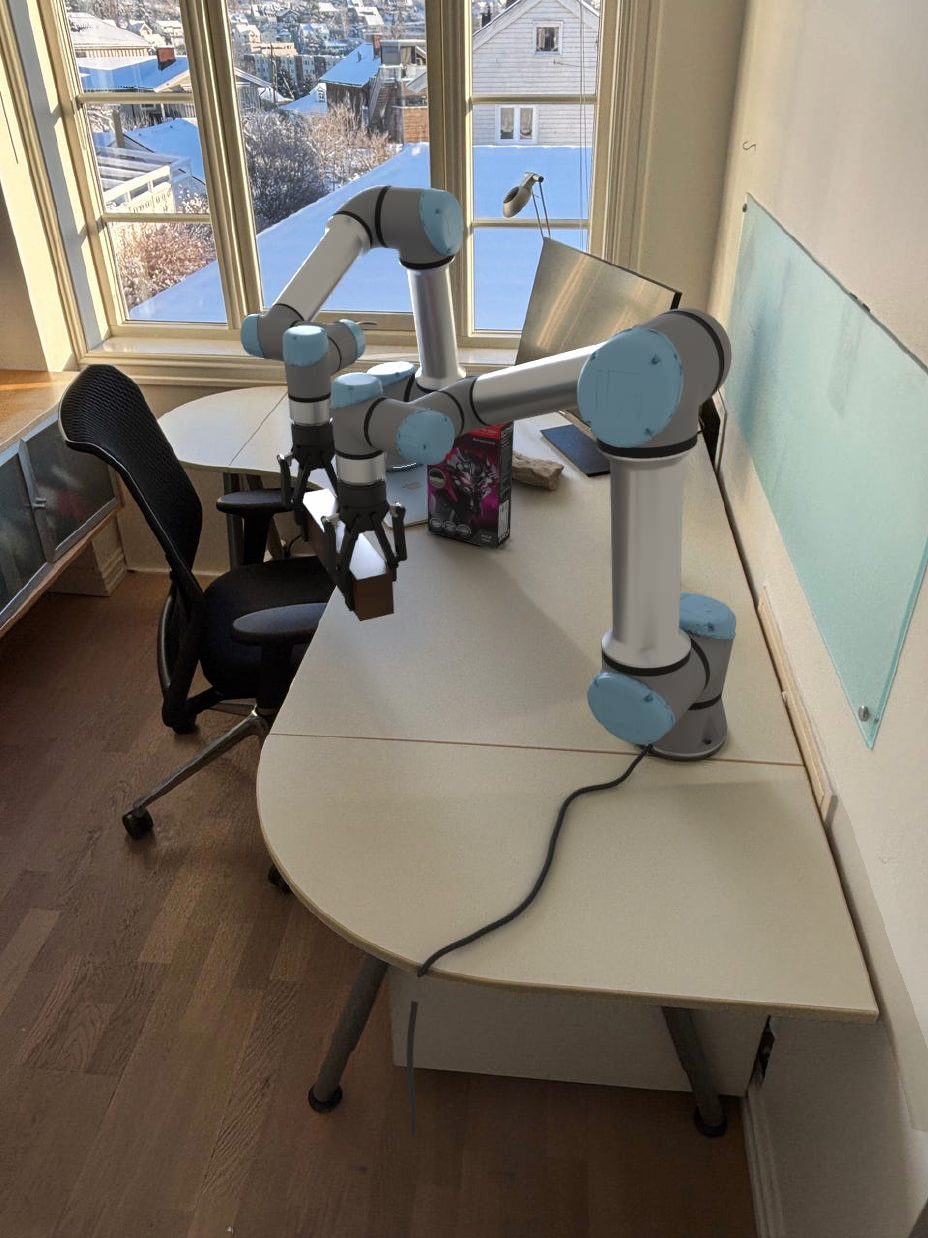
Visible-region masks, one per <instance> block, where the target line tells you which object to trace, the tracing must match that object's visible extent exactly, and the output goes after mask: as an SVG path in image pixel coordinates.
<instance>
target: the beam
mask: <svg viewBox="0 0 928 1238" xmlns="http://www.w3.org/2000/svg"><path fill="white" fill-rule="evenodd" d="M335 497H336V496H334V495H333V493H332V492H331V490H330V489H329V488H325V489H320V490H314V491H309V492H305V495H304V499H303V504H302V506H303V507H304V508H305V510H306V518H307V528H308V539H309V541H308V542H307V544H308V545H309V547H310V548H311V549H312V551H313V552H314V554H315V555H316V557H317V558H318V560H319V562H320V563H321V565H322V566H323V568H325V550H324V527H323V525H322V522H321V520H320V518H321V517H322V516H323V515H326V516H327V517H329V516H331V515H333V514H335V513H336V511H337V508H338V506H339V503H338V501H337V500H336V499H335ZM344 528H345V524H344V523H343V522H342V521H341V520H340V521H339V522H338V527H337V529H336V530H335V532H336V564H337V560H338V557H339V553H340V549H341V545H342V541H343V537H344ZM384 561H385V560H384V559H383V558H382V557H381V555H380V554H379V553H378V552H377V550H376V549H375V548H374V546H373V545H372V544H371V543H370V541H369V540H368V539H367V537H366V536H365V535H364V534H363V533H360V534H359V537H358V540H357V541H356V543H355V547H354V551H353V555H352V559H351V562H350V566H349V570H348V572H349V573H350V575H351V576H352V583H353V597H354V611H352V612H353V613H354V615H355V616H356V618H357V619H358V621H359V622H364V621H369V620H373V619H376V618H380V617H385V616H389V615H394V614H395V603H394V602H395V601H394V582H393V577H392V571H391V570H390V569H389V567H388V566H387V565H386V563H385V562H384ZM329 577H330V578H331V580H332V581H333V583H334V584H335V586H336V587H337V590H339V588H338V581H337V576H333V577H331V576H330V575H329ZM339 592H340V593H341V591H340V590H339ZM341 595H342V597H343V599H345V597H344V593H343V594H342V593H341Z"/></svg>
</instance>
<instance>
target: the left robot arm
mask: <svg viewBox="0 0 928 1238" xmlns="http://www.w3.org/2000/svg"><path fill="white" fill-rule="evenodd" d="M464 231H465V223H464V215H463V211H462V207H461V204H460V203H459V201H458V199H457V197H456V196H454V195H453V193H451V192H450V191H447V190H443V189H436V188H434V187H413V186H402V185H401V186H399V185H390V184H378V185H373V186H370V187H368V188H365V189H362V190H361V191H359V192H357V193H356V194H354V195H352V196H351V197H350V198H348V199H347V200H346V201H344V202H343V203H342V204H341V205H340V206H339V207H338V208H337V209H336V210H335V211H334V213H332V215H331V216H330V218H329V219H328V220H327V221H326V224H325V234H324V235H323V236H322V237H321V239H320V240H319V241H318V242H317V244H316V245H315V247H314V248H313V250H312V251H311V253H309V255H308V257H306V259H305V261H303V263H302V265H300V267H299V268H298V270H297V271H296V273H294V275H293V277H292V278H291V280H290V281H289V282H288V283H287V285H286V286H285V287H284V289H283V291H281V293H280V294H279V296H278V297H277V298H276V300H274V303H272V305H271V307H270V308H269V309H268V310H267V312H266V313H265V314H262V313H257V314H256V313H252V314H249V315H247V316H246V317H245V318H244V320H243V321H242V324H241V327H240V330H239V331H240V332H239V333H240V334H239V336H240V337H239V338H240V344H241V345H242V348H243V350H244V351H245V352H246V353H247V355H249V356H252V357H255V358H260V359H264V360H266V361H268V360H272V361H277V362H278V361H280V362H283V365H284V371H285V380H286V387H287V390H286V391H287V399H288V411H289V418H290V420H291V421H290V431H291V443H292V445H291V448H290V451H289V452H287V453H285V454H281V453H279V454H277V455H276V461H277V463H278V465H279V472H280V473H279V474H280V497H281V498H280V499H281V500H280V501H281V504H282V506H283V507H284V508H285V510H288V511H289V510H292V517H293V521H294V523H295V525H296V526H299V533H300V537H301V539H302V540H303V542H304V543H308V541H309V539H308V528H307V518H306V510H305V508H304V507H303V506H302V504H303V499H304V495H305V493H306V490H307V486H308V481H309V477H311V473H312V472H313V471H316V470H324V471H325V473H326V475H327V478H328V480H329V483H330V485H331V487H332V489H333V492H334V493H335V496H334V497H335V499H336V500H337V501H338V503H339V500H338V487H337V479H338V476H337V472H336V471H335V466H334V465H333V463H332V461H333V459H334V458H335V444H334V432H333V421H332V411H331V408H330V406H331V384H332V380H331V377H332V376H335V375H336V374H337V373H339V372H341V371H342V370H344V369H346V368H348V367H349V366H352V365H354V363H356V361H357V360H358V359H360V358H361V357H362V356H364V355H363V354H364V353H365V350H366V348H367V339H366V335H365V333H364V331H363V329H362V328H361V327H360V325H359V324H358V323H356V322H355V321H353V320H352V319H351V320H350V319H347V318H346V319H340V320H336V321H333V322H332V323H324V322H323V323H322V322H316V321H315V319H316V318H317V316H318V315H319V314H320V312H321V311H322V309H324V306H325V305H326V304H327V302H328V301H329V299H330V298H331V297H332V295H333V294H334V292H335V291H336V289H337V288H338V287H339V285H340V284H341V283H342V281H343V280H344V278H345V277H346V275H347V274H348V272H349V271H350V270H351V268H352V267H353V265H354V264H355V262H357V260H360V259H363V258H364V257H366V256H367V255H368V253H369V252H370V251H371V250H373V249H379V248H383V249H389V250H391V249H392V250H396V251H397V256H398V263H399V265H400V266H401V267H402V268H403V269H405V270H407V276H408V283H409V290H410V299H411V305H412V306H411V307H412V312H413V313H412V314H413V319H414V327H415V335H416V342H417V349H418V350H417V351H418V357H419V364H420V367H419V368H418V370H417V371H416V367H415V365H414V364H413V363H411V362H409V361H391V362H386V363H382V364H378V365H376V366H373V367H372V368H370V369H369V370H368V371H367V372H366V373H369V374H373V375H375V376H376V377H377V378H379V379H380V380H381V383H382V389H383V394H382V395H383V396H385V397H389V398H391V399H394V400H398V401H401V402H406V403H408V402H412V401H414V400H416V399H419V398H421V397H423V396H426V395H428V394H430V393H432V392H434V391H438V390H440V389H442V388H444V387H446V386H449V385H451V384H453V383H455V382H457V381H458V380H459V379H462V378H465V377H467V376H468V375H467V370H466V369H467V368H465V366H464V365H463V364H462V363H460V362H459V361H460V360H459V352H458V343H457V341H458V340H457V333H456V323H455V322H456V321H455V312H454V303H453V293H452V283H451V274H450V273H451V272H450V265H451V264H452V263H453V261H454V260H455V258H456V254H457V253H458V252H459V251H460V250H461V247H462V246H463V245H462V244H463V241H464V234H463V232H464ZM314 321H315V322H314ZM384 452H385V451H384ZM293 460H295V461H296V462H297V463H298V466H297V475H296V480H295V484H294V489H293V493H292V476H291V475H292V473H291V467H292V465H293ZM414 463H416V462H411V461H408V460H407V459H404V458H402V457H399V456H396V455H393V454H391V453H388V452H385V467H386V472H401V471H408V470H410V469H414V468H417V467H418V466H420V465H422V463H416V464H414ZM411 464H414V465H411ZM407 465H411V466H407ZM402 466H407V467H402ZM393 467H402V468H393Z"/></svg>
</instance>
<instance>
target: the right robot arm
mask: <svg viewBox="0 0 928 1238" xmlns="http://www.w3.org/2000/svg"><path fill="white" fill-rule="evenodd" d="M732 357H733V353H732V344H731V341H730V338H729V335H728V333H727V332H726V330H725V328H724V326H723V325H722V324H721V323H720V322H719V321H718V320H717V319H716V317H714V316H712V315H710V314H709V313H707V312H705V311H703V310H701V309H697V308H693V307H680V308H679V307H678V308H673V309H669V310H666V311H665V312H663V313H660V314H658V315H656V316H655V317H653V318H650V319H648V320H646V321H643V322H641V323H639V324H634V325H632V326H631V327H629V328H626V329H623V330H621V331H618V332H617V333H614V335H611V336H610V337H609V338H608V339H607V340H605V341H603V342H600V343H596V344H592V345H588V346H585V347H581V348H578V349H574V350H571V351H570V350H569V351H566V352H563V353H559V354H555V355H551V356H548V357H544V358H540V359H537V360H533V361H529V362H525V363H522V364H517V365H514V366H510V367H506V368H503V369H499V370H495V371H491V372H488V373H484V374H482V373H475V374H472V375H467V377H465V378H462V379H459V380H458V381H457V382H455V383H453V384H451V385H449V386H446V387H444V388H442V389H440V390H438V391H434V392H432V393H430V394H428V395H426V396H423V397H421V398H419V399H416V400H414V401H412V402H408V403H406V402H401V401H398V400H394V399H391V398H389V397H385V396H383V395H382V394H383V389H382V383H381V380H380V379H379V378H377V377H376V376H375V375H373V374H369V373H367V372H349V373H344V374H341V375H339V376H337V377H336V378H334V380H332V381H331V406H330V408H331V411H332V421H333V432H334V444H335V456H334V458H335V470H336V471H335V473H336V475H337V478H338V479H337V487H338V500H339V506H338V508H337V511H336V513H335V514H333V515H331V516H329V517H327V516H326V515H323V516H322V517H321V518H320V520H321V522H322V525H323V527H324V550H325V567H324V569H325V571H326V572H327V574H328V576H329V577H330V576H331V577H333V576H337V581H338V587H337V589H338V588H339V589H338V590H339V592H340V591H341V592H340V593H341V595H342V594H343V593H344V596H343V598H344V597H345V598H344V605H345V606H346V608H347V609H348V611H349V612H353V611H354V597H353V583H352V576H351V575H350V573H349V572H348V570H349V566H350V562H351V559H352V555H353V551H354V547H355V543H356V541H357V540H358V537H359V534H360V533H362V534H363V533H366V532H373V533H374V535H375V537H376V539H377V542H378V544H379V546H380V549H381V551H382V554H383V556H384V558H385V560H383V561H384V562H385V563H386V565H387V566H388V567H389V569H390V570H391V571H392V577H393V583H396V582H397V581H398V570H397V569H398V568H399V567H400V564H399V563H400V562H405V561H407V560H408V549H407V540H406V530H405V521H404V520H405V517H406V513H407V509H406V507H405V506H404V505H403V504H402V502H400V501H399V500H397V501H395V502H394V503H392V502H389V501H388V500H387V499H388V498H387V497H388V495H387V494H388V493H387V478H386V476H385V475H386V472H387V471H386V467H385V452H388V453H391V454H393V455H396V456H399V457H402V458H404V459H407V460H408V461H411V462H416V463H421V464H422V465H426V466H427V465H436V464H438V463H440V462H442V461H443V460H444V459H445V456H446V454H449V452H450V451H451V449H452V446H453V443H454V439H456V438H457V437H459V436H461V435H463V434H465V433H468V432H470V431H473V430H476V429H481V428H486V427H490V426H493V425H497V424H502V423H507V422H511V421H514V422H515V421H520V420H525V419H530V418H535V417H540V416H544V415H549V414H554V413H558V412H563V411H569V410H573V409H577V408H578V410H579V414H580V416H581V418H582V421H583V422H584V423H585V424H587V425H588V426H589V431H590V433H591V434H592V435H593V436H594V437H596V449H597V451H599V453H600V454H602V455H603V456H604V457H605V458H606V459H607V460H609V482H610V484H609V486H610V487H609V488H610V490H609V491H610V537H611V539H610V541H611V542H610V543H611V544H610V545H611V546H610V547H611V600H612V601H611V603H612V604H611V605H612V607H611V608H612V610H611V611H612V613H611V614H612V627H611V628H610V629H608V630H607V631H606V632H605V633H604V635H603V636H602V638H601V643H600V645H601V670H600V673H598V674H597V675H596V676H594V677H593V678H592V680H591V682H590V684H589V686H588V688H587V692H586V693H587V694H586V698H587V703H588V706H589V709H590V711H591V713H592V715H593V717H594V718H595V720H596V721H597V722H598V724H601V726H603V728H604V729H605V730H606V731H607V732H608V733H609V734H612V736H614V737H616V738H617V739H619V740H621V741H624V742H627V743H630V744H634V745H637V746H638V747H639V748H640V749H641V750H642V751H641V752H640V753H639V754H638V755H637V756H636V757H635V758H634V759H633V761H632V762H631V763H630V765H629V766H628V768H627V769H626V770H625V771H624V773H623V774H622V775H620V776H619V777H618V778H616V779H614V780H612V781H609V782H604V783H600V784H595V785H588V786H584V787H581V788H579V789H577V790H575V791H574V792H572V793H571V794H570V795H569V796H568V797H567V798H566V799H565V800H564V802H563V803H562V805H561V806H560V809H559V812H558V816H557V818H556V822H555V825H554V828H553V830H552V834H551V838H550V841H549V845H548V851H547V855H546V858H545V861H544V863H543V867H542V869H541V871H540V874H539V876H538V878H537V880H536V882H535V884H534V886H533V888H532V890H531V891H530V892H529V894H528V896H527V897H526V898H525V899H524V900H523V902H522V903H520V904H519V905H518V906H517V907H516V908H515V909H514V910H513V911H511V912H510V913H508V914H507V915H505V916H503V917H502V918H500V919H497V920H495V921H494V922H492V923H489V924H487V925H486V926H483V927H482V928H480V929H478V930H477V931H475V932H473V933H471V934H470V935H468V936H465V937H463V938H461V939H459V940H457V941H455V942H452V943H450V944H447V945H446V946H444V947H442V948H440V949H438V950H437V951H435V952H434V953H433V954H432V955H430V956H429V957H428V958H427V960H425V962H424V963H423V964H422V965H421V966H420V968H419V969H418V971H417V973H416V977H418V978H423V977H424V976H425V974H426V972H427V971H428V970H429V968H430V967H431V966H432V965H433V964H434V963H436V961H437V960H439V959H441V958H442V957H444V956H445V955H447V954H449V953H451V952H453V951H455V950H458V949H460V948H462V947H464V946H467V945H468V944H472V942H475V941H476V940H478V939H480V938H481V937H483V936H485V935H486V934H489V933H490V932H492V931H494V930H497V929H498V928H500V927H502V926H504V925H506V924H508V923H509V922H511V921H513V920H514V919H515V918H517V917H518V916H519V915H521V913H523V912H524V911H525V910H526V909H527V908H528V906H530V905H531V903H532V902H533V901H534V899H535V898H536V896H537V895H538V893H539V892H540V891H541V888H542V886H543V884H544V882H545V880H546V877H547V875H548V873H549V872H550V871H549V870H550V868H551V865H552V862H553V859H554V854H555V851H556V846H557V840H558V837H559V834H560V831H561V829H562V825H563V822H564V818H565V815H566V812H567V809H568V808H569V806H570V804H571V803H572V802H573V801H574V800H576V799H577V798H578V797H579V796H581V795H584V794H587V793H590V792H596V791H603V790H608V789H611V788H614V787H616V786H618V785H621V784H622V783H623V782H624V781H626V780H627V779H628V778H629V776H630V775H631V774H632V772H633V771H634V769H635V768H636V767H637V766H638V765H639V763H640V762H641V761H642V760H643V759H644V758H645V757H646V756H647V754H650V755H651V756H654V757H656V758H659V759H662V760H666V761H670V762H675V763H694V762H700V761H703V760H706V759H709V758H711V757H714V755H716V754H718V752H720V751H721V750H722V748H723V747H724V744H725V743H726V740H727V739H726V738H727V734H728V721H727V716H726V712H725V708H724V707H725V706H724V701H723V692H724V686H725V682H726V678H727V672H728V668H729V664H730V659H731V654H732V651H733V650H732V649H733V645H734V639H736V636H737V633H736V629H737V617H736V614H735V612H734V611H733V610H732V609H731V608H730V607H729V606H728V605H727V604H725V603H724V602H722V601H720V600H719V599H717V598H714V597H712V596H708V595H705V594H701V593H697V592H689V591H687V592H686V591H681V583H682V582H681V580H682V578H681V576H682V575H681V574H682V541H683V537H682V536H683V505H684V503H683V502H684V501H683V500H684V466H685V465H684V462H685V461H684V460H685V459H686V457H687V456H689V454H691V453H692V451H694V450H695V449H696V448H697V446H698V442H699V439H698V437H699V411H700V410H699V409H700V406H701V405H702V404H704V403H706V402H707V401H708V400H710V399H711V398H713V396H715V394H717V392H718V391H719V390H720V389H721V388H722V387H723V385H724V383H725V382H726V380H727V378H728V376H729V372H730V370H731V365H732ZM384 451H385V452H384ZM388 513H389V515H390V517H391V526H392V535H393V543H394V550H393V548H392V545H391V543H390V542H389V541H390V540H389V539H388V536H387V534H386V530H385V528H384V526H383V521H384V520H385V518H386V517H387V515H388ZM340 520H341V521H342V522H343V523H344V524H345V528H344V537H343V541H342V545H341V549H340V553H339V557H338V560H337V564H336V532H335V530H336V529H337V527H338V522H339V521H340ZM393 551H395V552H393ZM331 577H330V578H331ZM418 1008H419V1002H417V1001H414V1000H411V1004H410V1010H409V1019H408V1027H407V1037H406V1072H407V1086H408V1087H407V1088H408V1100H409V1101H408V1102H409V1114H410V1115H409V1116H410V1133H411V1134H414V1135H415V1134H416V1133H417V1127H418V1126H417V1104H416V1103H417V1102H416V1090H415V1089H416V1088H415V1075H414V1045H415V1044H414V1043H415V1033H416V1031H415V1030H416V1021H417V1014H418Z"/></svg>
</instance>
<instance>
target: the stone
mask: <svg viewBox="0 0 928 1238" xmlns="http://www.w3.org/2000/svg"><path fill="white" fill-rule="evenodd" d="M564 469H565V466H564V465H563V464H561V463H559V462H557V461H553V460H550V459H540V458H537V457H536V458H535V457H529V456H526V455H523V453H519V452H517V451H516V450H515V449H513V459H512V478H513V479H515V480H518V481H520V482H524V483H526V484H528V485H532V486H541V487H543V488H545V489H547V490H554V489H555V488H556V486H557V484H558V479H559V477H560V476H561V474H562V472H563V470H564Z"/></svg>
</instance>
